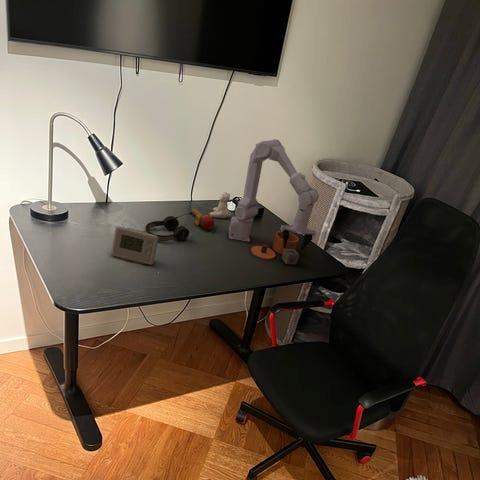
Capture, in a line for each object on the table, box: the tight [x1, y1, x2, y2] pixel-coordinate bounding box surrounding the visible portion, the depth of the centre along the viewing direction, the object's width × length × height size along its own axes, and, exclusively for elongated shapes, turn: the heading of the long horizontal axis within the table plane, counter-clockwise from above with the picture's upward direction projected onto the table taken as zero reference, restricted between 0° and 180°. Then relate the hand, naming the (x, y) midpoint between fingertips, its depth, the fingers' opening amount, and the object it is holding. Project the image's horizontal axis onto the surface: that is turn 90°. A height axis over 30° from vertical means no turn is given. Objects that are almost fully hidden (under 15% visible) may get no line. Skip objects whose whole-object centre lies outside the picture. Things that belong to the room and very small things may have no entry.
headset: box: [144, 211, 193, 242], centre depth 196 cm, size 14×10×20 cm
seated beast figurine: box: [209, 192, 231, 219], centre depth 223 cm, size 10×9×12 cm
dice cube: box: [281, 249, 300, 265], centre depth 200 cm, size 5×5×5 cm
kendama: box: [191, 208, 215, 231], centre depth 214 cm, size 8×6×18 cm
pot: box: [271, 230, 299, 255], centre depth 208 cm, size 10×10×7 cm
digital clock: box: [110, 225, 159, 266], centre depth 173 cm, size 16×9×11 cm, turn 72°
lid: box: [250, 243, 277, 260], centre depth 201 cm, size 11×11×4 cm
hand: (292, 248), depth 198 cm, fingers open, 7 cm apart
